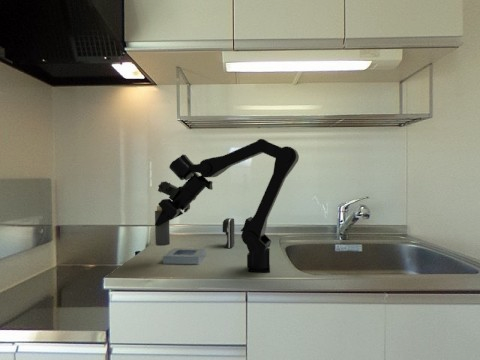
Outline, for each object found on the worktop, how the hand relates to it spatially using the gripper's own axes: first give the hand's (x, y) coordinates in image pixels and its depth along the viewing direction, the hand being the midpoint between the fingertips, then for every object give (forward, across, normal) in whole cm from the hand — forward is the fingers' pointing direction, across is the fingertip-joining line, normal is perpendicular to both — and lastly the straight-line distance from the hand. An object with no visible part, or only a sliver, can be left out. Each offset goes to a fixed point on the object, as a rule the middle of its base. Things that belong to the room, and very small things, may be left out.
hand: (158, 224), depth 112 cm
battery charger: (-4, -28, +24) cm, 37 cm away
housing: (+4, -6, +14) cm, 16 cm away
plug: (+4, 0, +6) cm, 7 cm away
